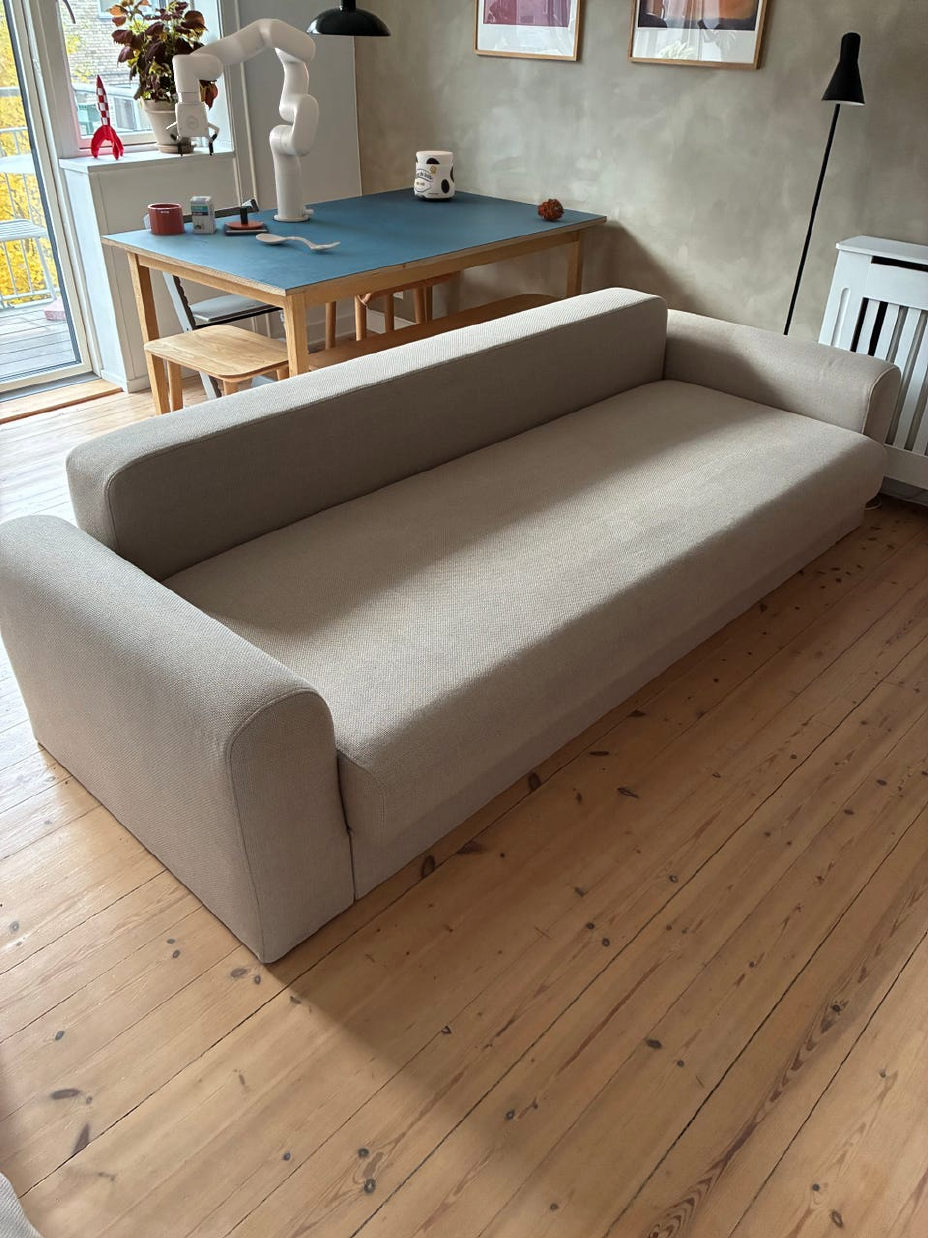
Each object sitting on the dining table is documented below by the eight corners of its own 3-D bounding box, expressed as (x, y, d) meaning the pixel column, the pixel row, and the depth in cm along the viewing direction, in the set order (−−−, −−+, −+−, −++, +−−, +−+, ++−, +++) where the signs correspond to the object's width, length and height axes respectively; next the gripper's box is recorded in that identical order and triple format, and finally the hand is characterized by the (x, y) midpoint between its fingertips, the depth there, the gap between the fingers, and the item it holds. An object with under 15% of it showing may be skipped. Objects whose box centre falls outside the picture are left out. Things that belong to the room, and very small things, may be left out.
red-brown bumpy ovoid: (561, 227, 361) (538, 227, 369) (572, 211, 363) (549, 212, 371) (551, 209, 355) (528, 210, 363) (563, 193, 357) (540, 194, 365)
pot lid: (261, 223, 343) (259, 203, 339) (263, 229, 333) (261, 209, 329) (226, 224, 340) (224, 204, 336) (228, 230, 330) (226, 210, 326)
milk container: (410, 201, 396) (409, 154, 387) (418, 195, 411) (418, 149, 401) (450, 203, 394) (451, 155, 384) (458, 197, 408) (458, 151, 399)
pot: (184, 227, 339) (181, 201, 335) (185, 236, 326) (181, 209, 321) (152, 228, 337) (148, 202, 332) (151, 237, 323) (147, 210, 319)
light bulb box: (213, 233, 330) (209, 200, 324) (193, 233, 329) (189, 200, 323) (216, 228, 339) (213, 195, 333) (197, 228, 338) (193, 195, 332)
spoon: (323, 256, 302) (322, 245, 300) (251, 243, 317) (250, 232, 315) (341, 252, 308) (341, 240, 306) (270, 239, 323) (269, 228, 321)
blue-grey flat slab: (263, 224, 347) (263, 221, 346) (267, 234, 330) (267, 231, 330) (224, 225, 344) (223, 222, 343) (226, 235, 327) (226, 232, 327)
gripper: (162, 99, 307) (169, 157, 316) (216, 98, 311) (222, 156, 320) (162, 97, 313) (170, 154, 322) (215, 97, 317) (222, 153, 326)
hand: (196, 155), depth 321 cm, fingers open, 9 cm apart
